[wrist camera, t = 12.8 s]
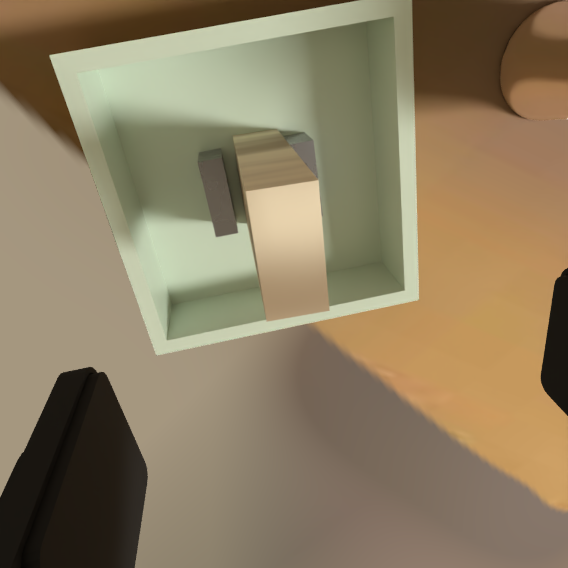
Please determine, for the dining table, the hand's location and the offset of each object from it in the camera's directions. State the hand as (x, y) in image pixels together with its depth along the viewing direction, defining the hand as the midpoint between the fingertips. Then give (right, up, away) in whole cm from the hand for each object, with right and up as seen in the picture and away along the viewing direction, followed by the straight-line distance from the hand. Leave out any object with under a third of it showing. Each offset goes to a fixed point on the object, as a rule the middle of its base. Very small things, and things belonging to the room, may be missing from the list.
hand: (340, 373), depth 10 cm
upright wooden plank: (-2, +8, +16) cm, 18 cm away
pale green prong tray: (-3, +8, +17) cm, 19 cm away
